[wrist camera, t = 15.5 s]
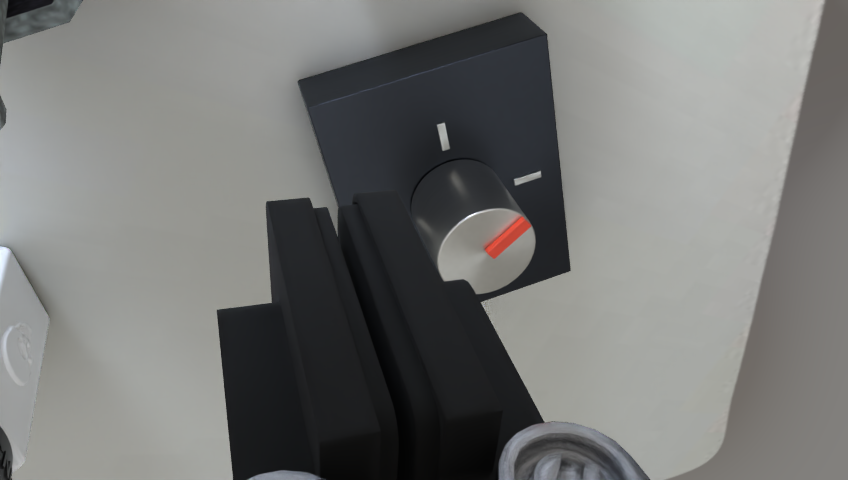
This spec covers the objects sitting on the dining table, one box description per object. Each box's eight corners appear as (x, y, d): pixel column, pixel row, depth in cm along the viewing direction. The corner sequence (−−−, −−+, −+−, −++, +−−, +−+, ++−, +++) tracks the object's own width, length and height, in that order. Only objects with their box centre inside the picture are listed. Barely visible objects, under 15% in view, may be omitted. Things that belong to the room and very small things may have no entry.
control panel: (297, 80, 35) (307, 109, 33) (521, 11, 36) (548, 34, 34) (368, 302, 44) (381, 338, 41) (549, 240, 45) (572, 273, 42)
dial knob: (451, 255, 39) (482, 314, 36) (391, 207, 37) (418, 266, 33) (518, 194, 38) (558, 248, 35) (461, 140, 36) (497, 193, 32)
